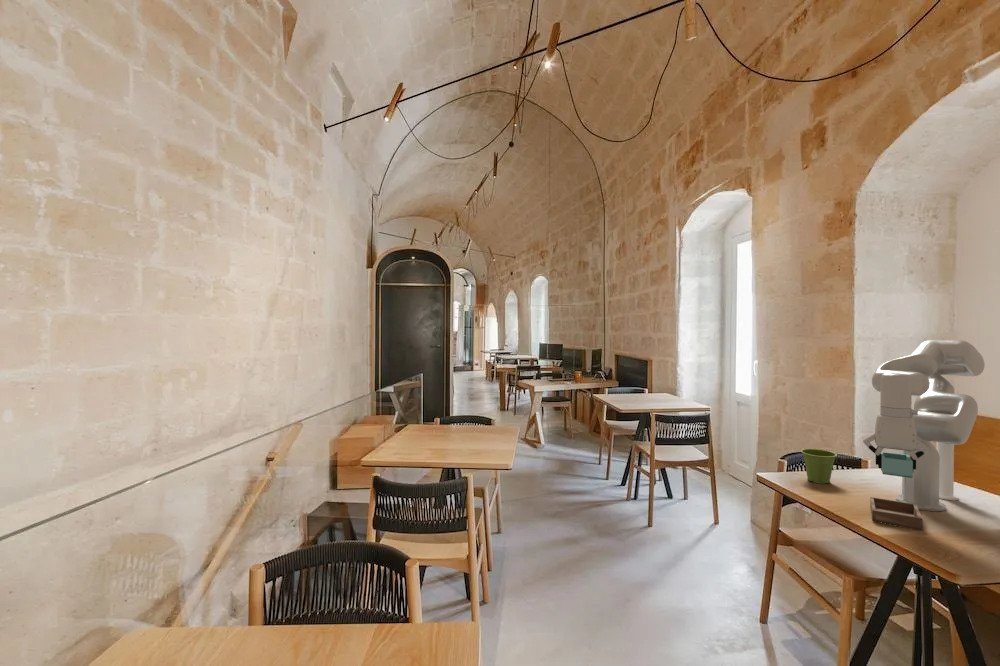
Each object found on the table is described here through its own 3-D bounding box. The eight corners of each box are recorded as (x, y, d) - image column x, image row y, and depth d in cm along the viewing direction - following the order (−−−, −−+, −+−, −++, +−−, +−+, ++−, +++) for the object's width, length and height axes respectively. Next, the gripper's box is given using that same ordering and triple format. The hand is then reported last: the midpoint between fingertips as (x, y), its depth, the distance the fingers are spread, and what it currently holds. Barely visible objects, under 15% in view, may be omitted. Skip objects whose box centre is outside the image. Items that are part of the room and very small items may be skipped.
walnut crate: (870, 507, 160) (870, 496, 160) (916, 515, 154) (916, 504, 154) (872, 521, 149) (872, 510, 148) (922, 530, 142) (922, 518, 142)
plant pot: (794, 476, 194) (794, 448, 194) (823, 476, 194) (823, 448, 194) (813, 486, 182) (813, 456, 182) (844, 486, 182) (844, 456, 182)
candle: (930, 492, 175) (931, 423, 175) (957, 496, 171) (958, 426, 170) (931, 497, 170) (932, 426, 170) (959, 502, 165) (960, 429, 165)
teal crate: (880, 467, 156) (880, 451, 156) (908, 470, 152) (908, 454, 152) (882, 474, 148) (882, 457, 148) (912, 478, 144) (912, 461, 144)
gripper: (930, 413, 149) (930, 471, 149) (860, 408, 159) (860, 462, 159) (934, 417, 143) (934, 477, 143) (861, 411, 153) (861, 467, 153)
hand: (895, 468), depth 151 cm, fingers closed on teal crate, 7 cm apart
